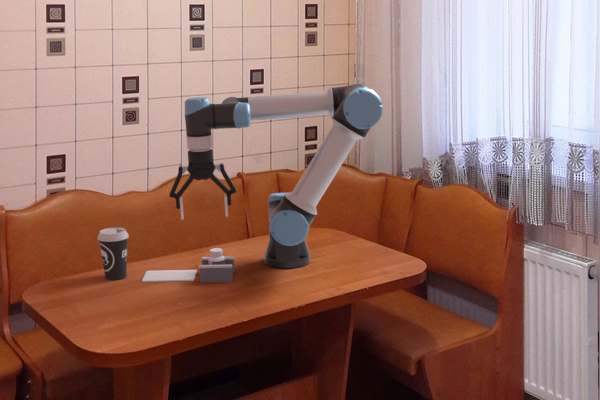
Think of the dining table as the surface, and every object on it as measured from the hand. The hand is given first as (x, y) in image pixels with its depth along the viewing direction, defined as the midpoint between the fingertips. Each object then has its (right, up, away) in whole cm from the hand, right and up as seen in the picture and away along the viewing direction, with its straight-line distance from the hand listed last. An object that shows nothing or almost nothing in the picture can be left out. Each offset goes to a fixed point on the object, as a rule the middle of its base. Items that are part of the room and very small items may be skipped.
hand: (204, 217), depth 260 cm
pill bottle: (+3, -19, +4) cm, 20 cm away
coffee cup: (-29, -19, +6) cm, 35 cm away
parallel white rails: (+3, -19, +4) cm, 19 cm away
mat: (-12, -19, +6) cm, 23 cm away
